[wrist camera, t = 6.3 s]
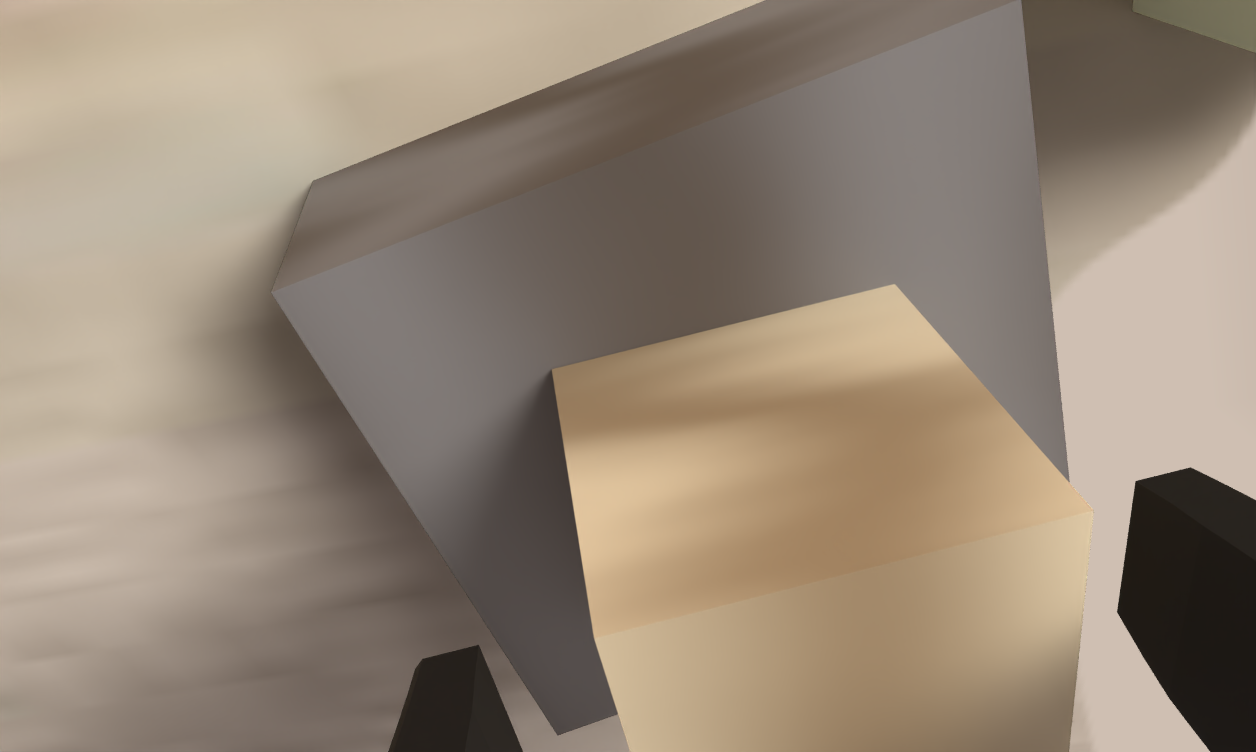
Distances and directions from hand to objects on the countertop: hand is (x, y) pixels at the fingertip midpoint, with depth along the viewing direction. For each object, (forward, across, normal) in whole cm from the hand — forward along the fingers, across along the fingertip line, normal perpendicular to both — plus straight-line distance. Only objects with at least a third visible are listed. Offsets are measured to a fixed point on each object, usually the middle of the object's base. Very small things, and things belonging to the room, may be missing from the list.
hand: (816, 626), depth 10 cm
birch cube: (+3, 0, 0) cm, 3 cm away
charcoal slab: (+7, 0, 0) cm, 7 cm away
